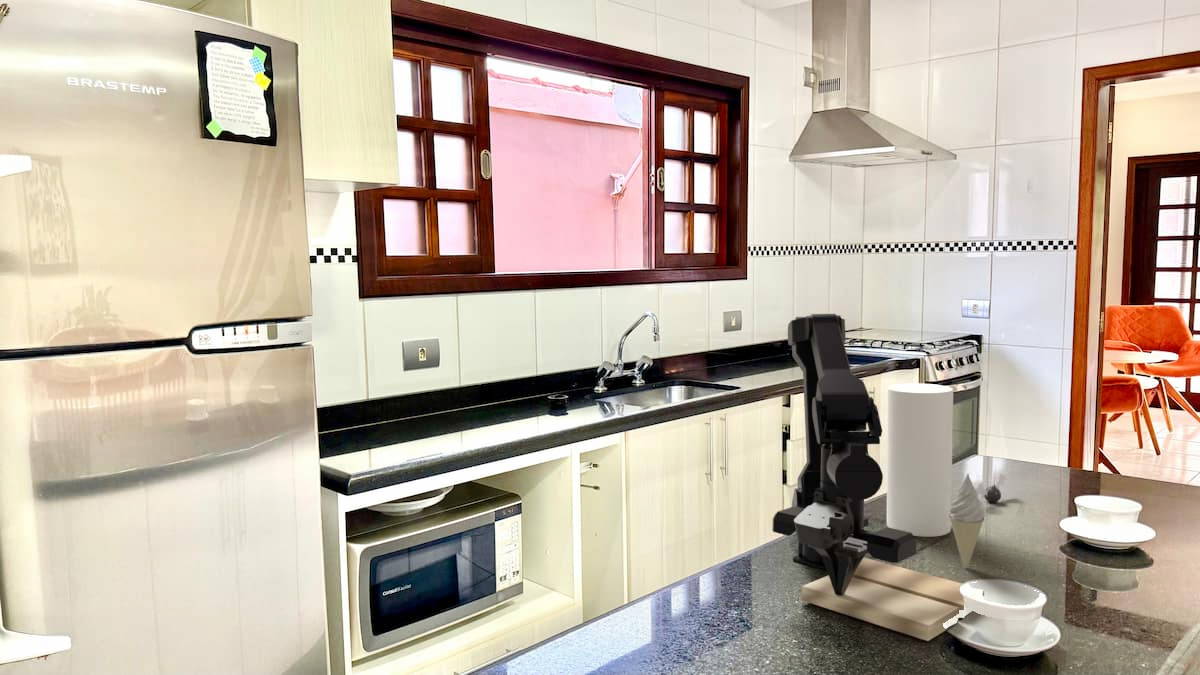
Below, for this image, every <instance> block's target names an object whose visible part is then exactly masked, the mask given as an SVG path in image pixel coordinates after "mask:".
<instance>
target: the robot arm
mask: <svg viewBox="0 0 1200 675" xmlns="http://www.w3.org/2000/svg"><path fill="white" fill-rule="evenodd" d="M846 338H847V337H846V320H845V318H842V317H841V315H839V314H838V315H837V314H836V313H812V314H810V315H806V316H795V318H794V319H793V320H790V322H789V323H788V325H787V343H788V346H791V350H792V353H791V354H792V355H791V356H792V358H793V359H794V361H795V362H796V364H797V365H798V368H800V370H801V371H802V378H803V379H802V381H803V400H804V401H803V403H804V404H803V406H804V424H805V427H804V430H805V449H806V463H805V465H804V466H803V468H802V470H801V472H800V474H799V475H798V476H797V487H796V488H794V490H793V496H792V502H791V506H790V507H787V508H785V509H782V510H779V511H777V512H776V513H775V514H774V515H773V517H772V524H771V525H772V526H771V527H772V532H773V533H776V534H780V535H783V536H786V537H787V536H788V537H790V536H792V535H793V534H794V533H795V534H796V538H797V550H798V552H797V554H796V555H794V556H793V557H792V561H794V562H797V563H799V564H800V563H801V564H804V565H807V566H812V567H814V568H818V569H822V570H825V571H827V574H828V575H829V577H830V580H831V583H832V586H833V589H834V592H835V594H836V595H839V596H842V595H844V594H845V592H846V589H847V587H848V585H849V583H850V581H851V579H852V577H853V575H854V573H855V571H856V569H857V567H858V565H859V564H860V562H861V561H862V559H863V558H865V556H866V555H867V554H869V555H870V557H871V558H873V559H875V560H880V561H884V562H888V563H895V564H896V563H897V564H898V563H900V562H902V561H904V560H906V559H908V558H910V557H912V556H914V555H916V554H917V545H918V544H917V540H916V538H915V537H914V536H913V535H912V533H910V532H906V531H902V530H897V529H893V528H889V527H888V526H887V527H885V528H881V529H879V530H877V531H875V532H874V531H869V530H865V529H864V528H866V527H868V526H869V518H868V517H865V500H867V499H870V498H871V497H873V496H875V495H876V494H877V493H878V492H879V490H880V489H881V487H882V485H883V479H884V477H883V475H884V474H883V471H882V469H881V466H880V465H879V463H878V462H877V461H876V460H875V459H874V458H873V457H872V456H870V454H869V448H868V446H869V445H880V443H881V439H880V437H882V433H883V427H882V422H881V419H880V413H879V410H878V406H877V405H876V404H875V400H874V398H873V397H871V396H870V395H869V392H868V390H867V387H866V384H865V381H863V380H862V379H860V378H858V377H857V376H856V375H854V374H853V373H852V370H851V366H850V362H849V358H848V354H847V350H846V347H845V346H846V345H845V343H846ZM867 427H868V431H866V430H867Z"/></svg>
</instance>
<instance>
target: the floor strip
mask: <svg viewBox="0 0 1200 675" xmlns="http://www.w3.org/2000/svg"><path fill="white" fill-rule="evenodd" d="M853 577H854V578H857V579H861V580H864V581H868V582H871V583H875V584H878V585H882V586H885V587H889V588H892V589H896V590H899V591H903V592H906V593H910V594H913V595H917V596H920V597H924V598H927V599H931V600H934V601H938V602H941V603H945V604H948V605H952V606H955V607H959V610H964V601H963V598H962V596H961V594H960V591H959V587H960V586H961V585H962V584H963V583H962V582H958V581H954V580H950V579H946V578H942V577H939V576H934V575H932V574H927V573H924V572H921V571H920V572H919V571H916V570H912V569H909V568H906V567H905V568H904V567H901V566H896V565H893V564H890V563H886V562H882V561H877V560H876V559H875V560H874V559H870V558H866V557H863V559H862V561H861V562H860V564H859V565H858V567H857V569H856V571H855V573H854V575H853Z"/></svg>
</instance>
